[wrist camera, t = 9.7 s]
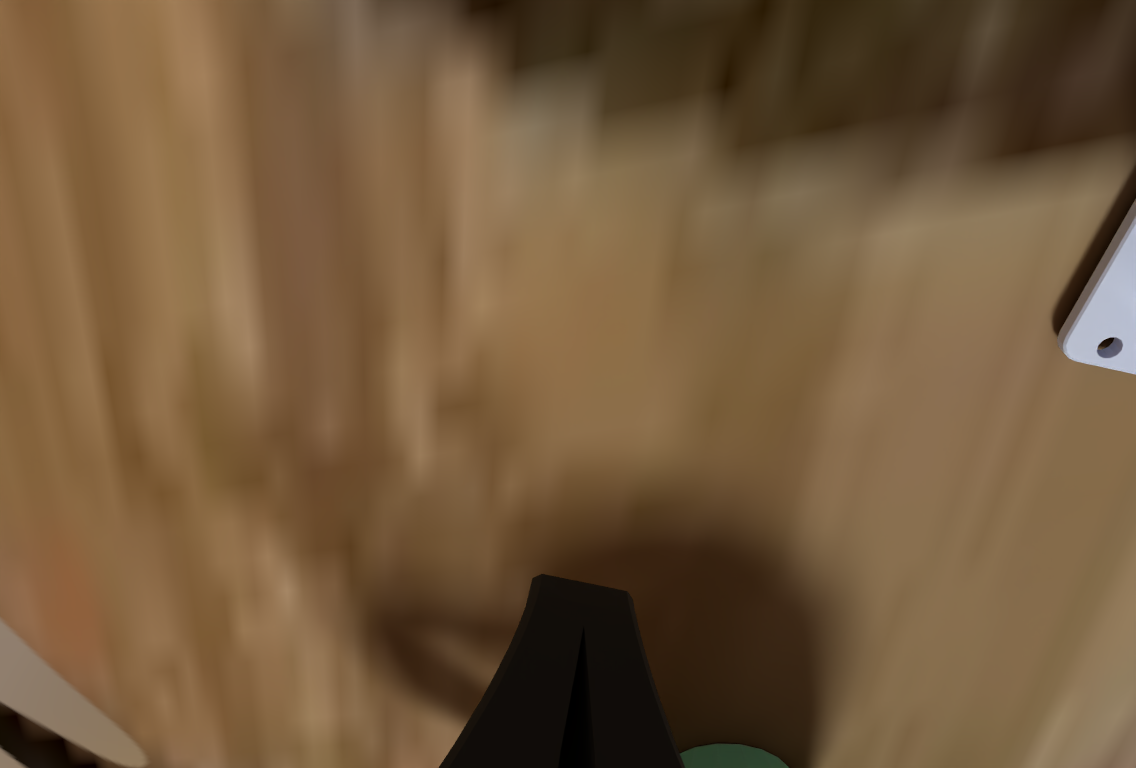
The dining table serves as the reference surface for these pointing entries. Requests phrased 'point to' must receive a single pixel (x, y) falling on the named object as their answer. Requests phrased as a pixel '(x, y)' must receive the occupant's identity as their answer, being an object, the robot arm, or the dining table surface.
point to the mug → (730, 757)
